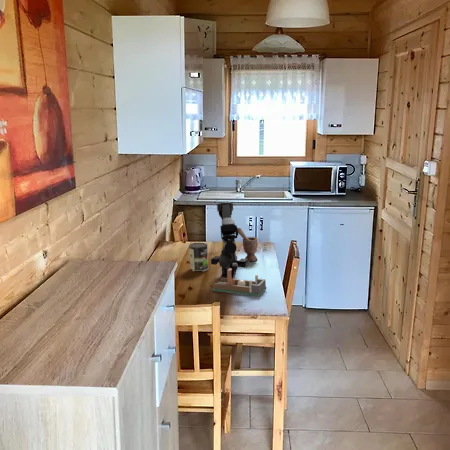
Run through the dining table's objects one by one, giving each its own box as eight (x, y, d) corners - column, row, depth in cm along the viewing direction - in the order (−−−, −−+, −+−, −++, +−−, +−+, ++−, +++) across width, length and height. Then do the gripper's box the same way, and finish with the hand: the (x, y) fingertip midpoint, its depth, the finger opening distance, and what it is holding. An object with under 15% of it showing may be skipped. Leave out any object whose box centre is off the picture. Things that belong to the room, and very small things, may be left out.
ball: (236, 288, 240) (236, 281, 239) (239, 286, 243) (239, 278, 242) (243, 289, 238) (243, 282, 237) (246, 286, 242) (246, 279, 241)
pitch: (213, 290, 241) (212, 277, 240) (222, 283, 251) (221, 270, 249) (258, 296, 232) (258, 282, 230) (266, 288, 241) (266, 274, 240)
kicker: (215, 287, 243) (214, 269, 241) (220, 283, 248) (219, 266, 246) (230, 288, 240) (229, 271, 238) (235, 284, 245) (234, 267, 243)
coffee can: (212, 267, 277) (210, 243, 274) (201, 273, 268) (200, 248, 265) (197, 265, 282) (196, 241, 279) (186, 270, 274) (185, 246, 271)
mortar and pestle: (242, 264, 280) (241, 230, 276) (236, 260, 288) (235, 227, 283) (260, 260, 285) (259, 227, 280) (253, 257, 292) (252, 224, 288)
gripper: (204, 251, 235) (206, 281, 239) (240, 254, 227) (241, 285, 231) (214, 244, 245) (216, 274, 248) (249, 247, 237) (250, 278, 241)
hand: (230, 278), depth 242 cm, fingers closed on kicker, 2 cm apart
